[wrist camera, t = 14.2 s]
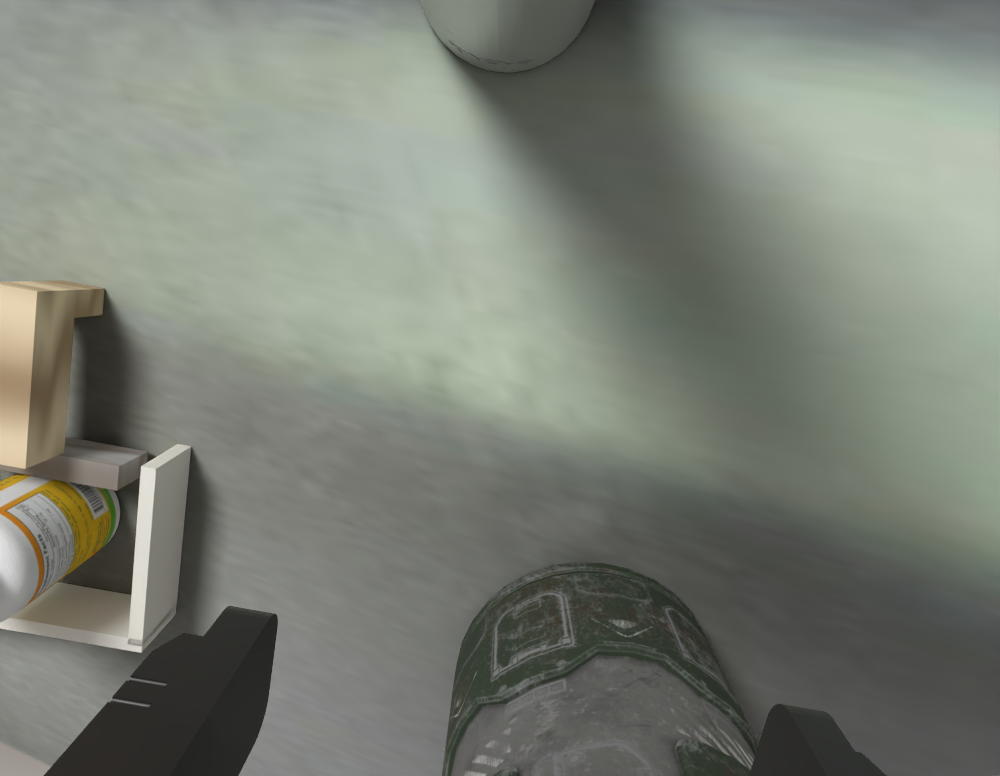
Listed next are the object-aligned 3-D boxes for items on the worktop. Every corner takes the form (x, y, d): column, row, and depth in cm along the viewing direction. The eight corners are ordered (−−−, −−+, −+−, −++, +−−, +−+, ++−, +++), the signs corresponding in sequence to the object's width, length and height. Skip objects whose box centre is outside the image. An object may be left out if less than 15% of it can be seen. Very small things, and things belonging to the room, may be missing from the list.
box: (-41, 404, 39) (-102, 422, 35) (191, 446, 39) (156, 468, 35) (-42, 576, 41) (-100, 611, 37) (175, 614, 42) (141, 652, 38)
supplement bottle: (13, 537, 41) (-172, 647, 30) (27, 443, 39) (-161, 522, 28) (114, 565, 41) (-32, 684, 30) (132, 472, 40) (-14, 562, 29)
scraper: (2, 269, 37) (-83, 269, 32) (163, 299, 37) (105, 304, 32) (-8, 446, 39) (-90, 475, 33) (146, 474, 39) (88, 506, 34)
